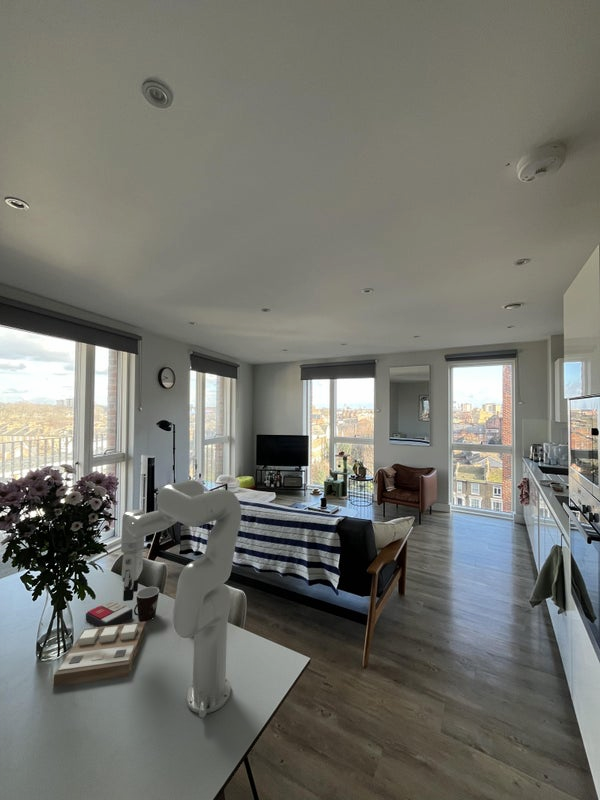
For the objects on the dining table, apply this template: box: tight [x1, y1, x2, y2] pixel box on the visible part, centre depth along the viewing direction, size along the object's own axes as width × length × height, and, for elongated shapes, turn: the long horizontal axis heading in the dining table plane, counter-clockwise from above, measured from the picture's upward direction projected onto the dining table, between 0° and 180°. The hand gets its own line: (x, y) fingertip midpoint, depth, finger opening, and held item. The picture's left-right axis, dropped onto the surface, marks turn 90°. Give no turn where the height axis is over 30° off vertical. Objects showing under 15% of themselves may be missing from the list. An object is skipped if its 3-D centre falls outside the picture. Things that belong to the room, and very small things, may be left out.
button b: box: [100, 626, 118, 643], centre depth 115 cm, size 4×4×4 cm
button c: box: [79, 629, 98, 646], centre depth 113 cm, size 4×4×4 cm
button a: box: [120, 624, 137, 640], centre depth 116 cm, size 4×4×4 cm
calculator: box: [85, 599, 134, 627], centre depth 131 cm, size 11×4×15 cm
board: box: [53, 621, 146, 688], centre depth 111 cm, size 22×21×4 cm
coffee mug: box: [133, 586, 160, 622], centre depth 131 cm, size 12×9×10 cm
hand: (130, 595), depth 117 cm, fingers open, 5 cm apart
